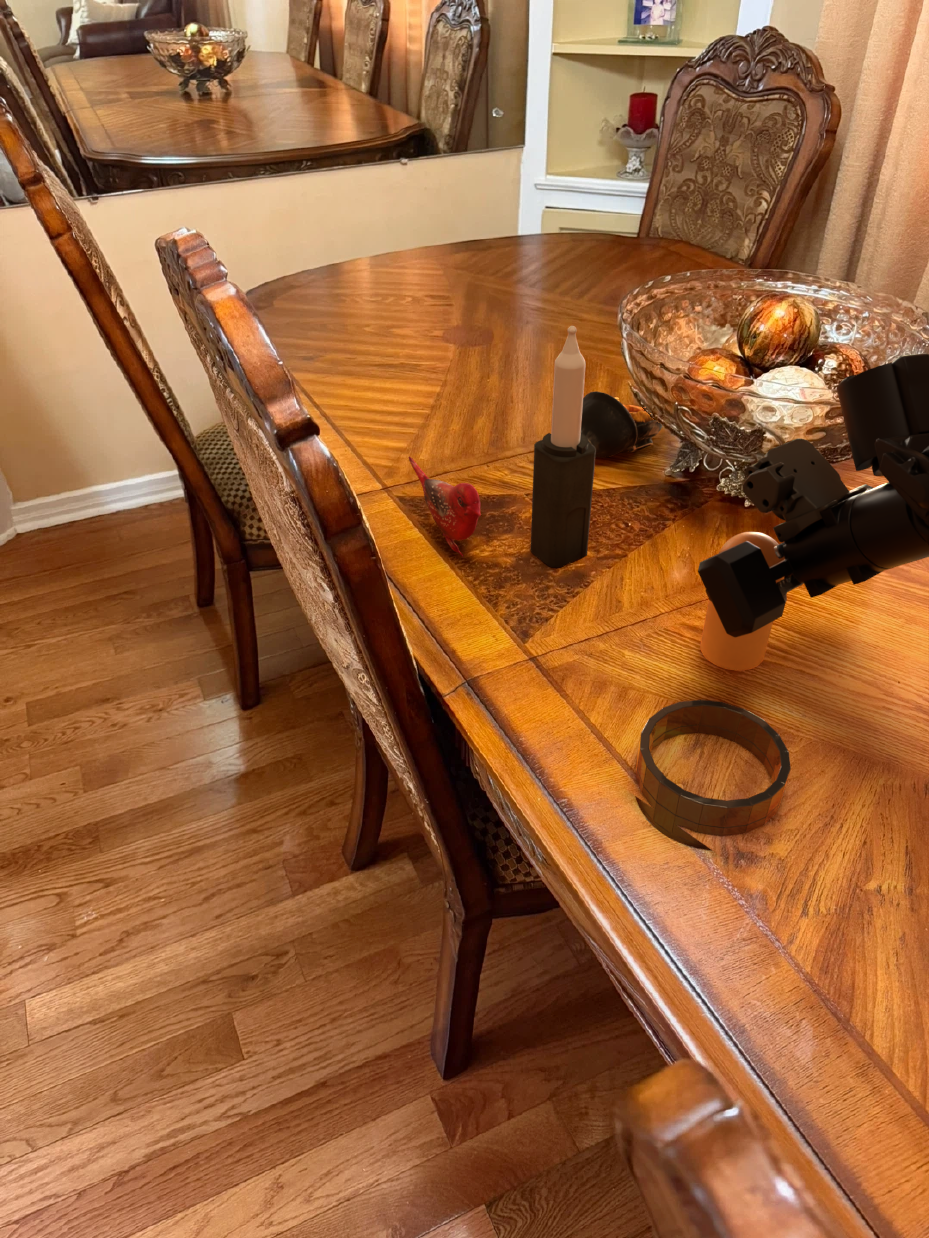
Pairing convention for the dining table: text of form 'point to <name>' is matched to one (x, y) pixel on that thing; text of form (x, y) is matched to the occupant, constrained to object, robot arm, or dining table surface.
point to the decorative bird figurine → (451, 506)
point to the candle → (563, 468)
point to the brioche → (747, 647)
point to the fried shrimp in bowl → (616, 425)
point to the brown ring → (696, 810)
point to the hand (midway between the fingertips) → (732, 582)
